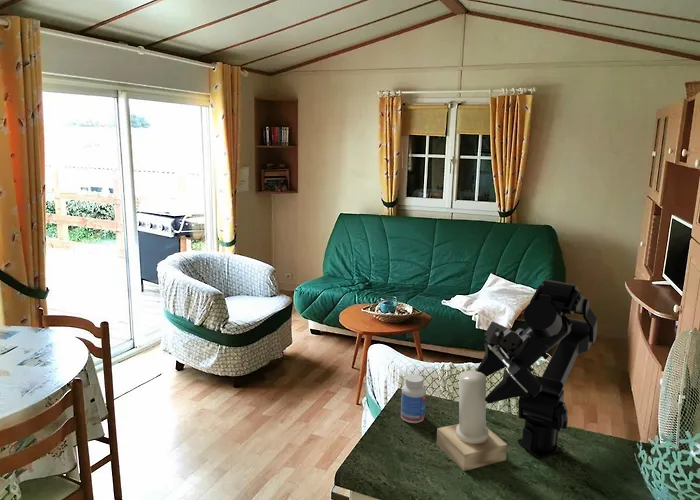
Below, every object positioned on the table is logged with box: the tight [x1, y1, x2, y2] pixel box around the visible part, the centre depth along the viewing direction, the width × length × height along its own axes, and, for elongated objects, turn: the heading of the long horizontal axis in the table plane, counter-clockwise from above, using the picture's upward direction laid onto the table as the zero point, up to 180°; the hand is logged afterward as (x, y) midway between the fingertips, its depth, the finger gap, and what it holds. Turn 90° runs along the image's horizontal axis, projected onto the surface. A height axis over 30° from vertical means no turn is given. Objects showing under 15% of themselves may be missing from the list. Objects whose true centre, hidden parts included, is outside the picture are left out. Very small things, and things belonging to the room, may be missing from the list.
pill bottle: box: [400, 374, 427, 424], centre depth 122 cm, size 6×5×10 cm
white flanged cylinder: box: [456, 370, 489, 444], centre depth 108 cm, size 6×6×13 cm
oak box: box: [436, 423, 508, 472], centre depth 110 cm, size 10×10×4 cm
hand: (479, 390), depth 108 cm, fingers open, 9 cm apart
